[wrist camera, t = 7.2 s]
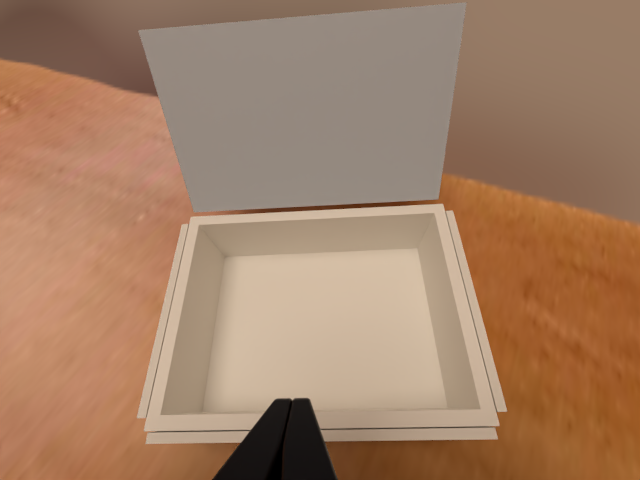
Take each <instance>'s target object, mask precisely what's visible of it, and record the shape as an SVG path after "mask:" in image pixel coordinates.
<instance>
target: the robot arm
mask: <svg viewBox="0 0 640 480" xmlns="http://www.w3.org/2000/svg"><path fill="white" fill-rule="evenodd" d="M212 480H338V479H337V476H336V473H335V470H334V467H333V464H332V461H331V459H330V456H329V453H328V450H327V447H326V444H325V441H324V438H323V435H322V432H321V430H320V427H319V424H318V421H317V418H316V415H315V412H314V409H313V406H312V404H311V401H310V399H309V398H294V399H293V401H292V399H291V398H277V399H275V400H274V401H273V402H272V403H271V405H270V406H269V407H268V409H267V410H266V411H265V412H264V414H263V415H262V416H261V418H260V419H259V420H258V421H257V423H256V424H255V425H254V426H253V428H252V429H251V430H250V432H249V433H248V434H247V435H246V437H245V438H244V439H243V441H242V442H241V443H240V444H239V446H238V447H237V448H236V450H235V451H234V452H233V453H232V455H231V456H230V457H229V459H228V460H227V461H226V462H225V464H224V465H223V466H222V468H221V469H220V470H219V471H218V473H217V474H216V475H215V476H214V478H213V479H212Z"/></svg>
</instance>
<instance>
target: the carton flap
mask: <svg viewBox="0 0 640 480" xmlns="http://www.w3.org/2000/svg"><path fill="white" fill-rule="evenodd" d="M465 10H466V3H455V4H444V5H432V6H419V7H408V8H396V9H384V10H372V11H361V12H349V13H337V14H325V15H314V16H302V17H290V18H280V19H279V18H278V19H266V20H255V21H243V22H231V23H219V24H207V25H195V26H184V27H172V28H160V29H148V30H139V34H140V38H141V41H142V44H143V47H144V50H145V54H146V57H147V60H148V64H149V67H150V70H151V73H152V77H153V80H154V83H155V87H156V90H157V93H158V96H159V100H160V103H161V106H162V109H163V113H164V116H165V119H166V122H167V126H168V129H169V132H170V135H171V139H172V142H173V145H174V149H175V152H176V155H177V158H178V162H179V165H180V168H181V171H182V175H183V178H184V181H185V184H186V188H187V191H188V194H189V198H190V201H191V204H192V207H193V211H194V212H208V211H227V210H246V209H265V208H284V207H303V206H322V205H341V204H360V203H379V202H398V201H417V200H436V199H438V198H439V191H440V184H441V177H442V170H443V163H444V156H445V149H446V142H447V134H448V128H449V121H450V114H451V107H452V100H453V93H454V86H455V79H456V72H457V65H458V59H459V52H460V45H461V38H462V30H463V24H464V16H465Z"/></svg>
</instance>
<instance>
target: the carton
mask: <svg viewBox="0 0 640 480" xmlns="http://www.w3.org/2000/svg"><path fill="white" fill-rule="evenodd" d="M277 398H291V399H292V401H293V399H294V398H309V399H310V401H311V404H312V406H313V409H314V412H315V415H316V418H317V421H318V424H319V427H320V430H321V432H322V435H323V438H324V441H403V440H481V439H498V437H497V433H496V429H495V427H489V426H500V425H499V421H498V417H497V413H496V412H507V408H506V405H505V401H504V397H503V394H502V390H501V386H500V383H499V379H498V375H497V372H496V368H495V364H494V361H493V357H492V353H491V349H490V346H489V342H488V338H487V335H486V331H485V327H484V324H483V320H482V316H481V313H480V309H479V305H478V301H477V298H476V294H475V290H474V287H473V283H472V279H471V276H470V272H469V268H468V265H467V261H466V257H465V254H464V250H463V246H462V242H461V239H460V235H459V231H458V228H457V224H456V220H455V217H454V213H453V211H445V210H444V206H443V204H430V205H410V206H391V207H372V208H352V209H333V210H314V211H295V212H275V213H256V214H237V215H218V216H198V217H191V219H190V223H189V224H182V226H181V231H180V235H179V239H178V244H177V248H176V252H175V256H174V261H173V265H172V269H171V274H170V278H169V282H168V286H167V291H166V295H165V299H164V304H163V308H162V312H161V316H160V321H159V325H158V329H157V334H156V338H155V342H154V346H153V351H152V355H151V359H150V364H149V368H148V372H147V376H146V381H145V385H144V389H143V393H142V398H141V402H140V406H139V411H138V415H137V418H146V423H145V428H144V431H155V432H149V433H148V434H147V439H146V444H169V443H241V442H242V441H243V439H244V438H245V437H246V435H247V434H248V433H249V432H250V430H251V429H252V428H253V426H254V425H255V424H256V423H257V421H258V420H259V419H260V418H261V416H262V415H263V414H264V412H265V411H266V410H267V409H268V407H269V406H270V405H271V403H272V402H273V401H274V400H275V399H277Z"/></svg>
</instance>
